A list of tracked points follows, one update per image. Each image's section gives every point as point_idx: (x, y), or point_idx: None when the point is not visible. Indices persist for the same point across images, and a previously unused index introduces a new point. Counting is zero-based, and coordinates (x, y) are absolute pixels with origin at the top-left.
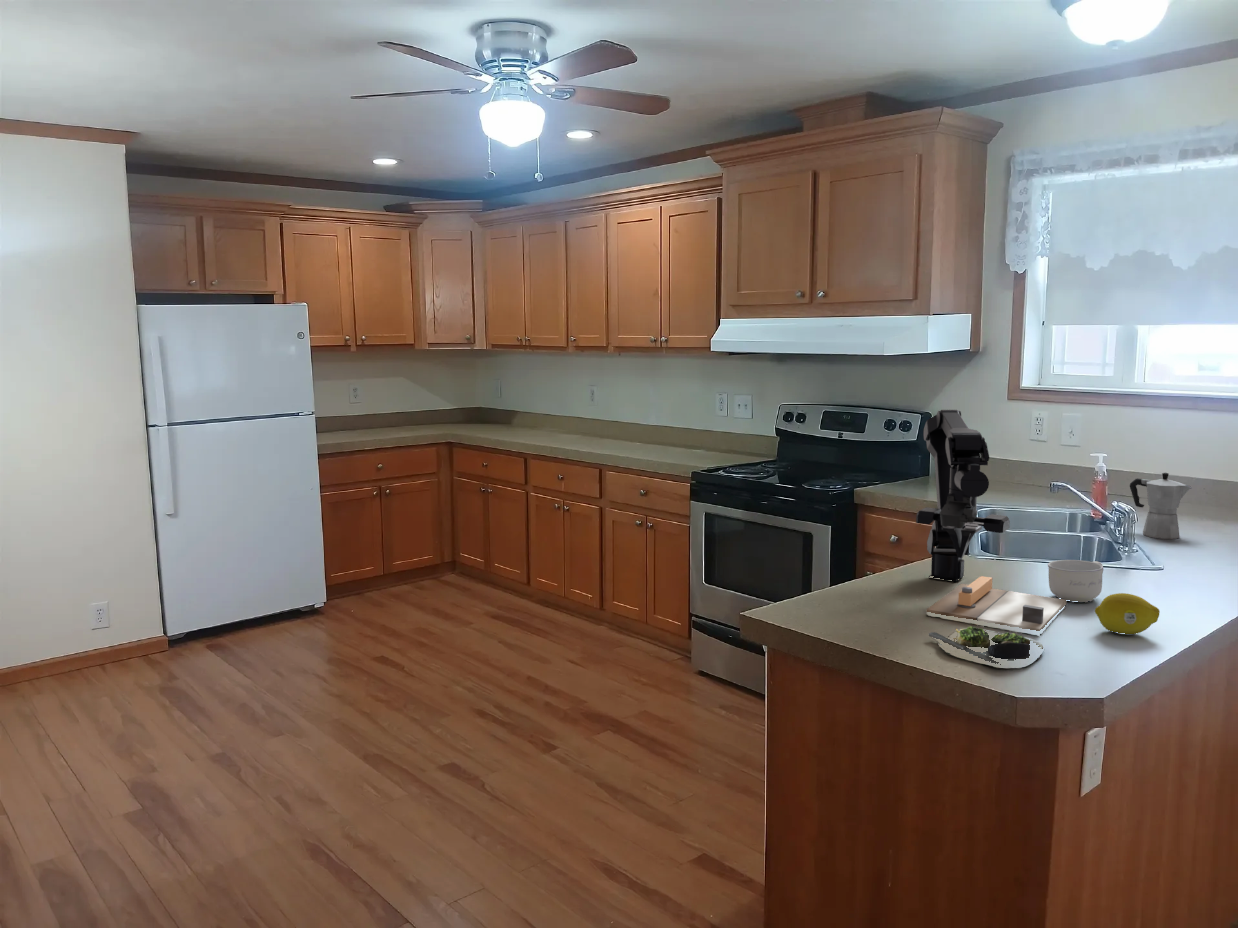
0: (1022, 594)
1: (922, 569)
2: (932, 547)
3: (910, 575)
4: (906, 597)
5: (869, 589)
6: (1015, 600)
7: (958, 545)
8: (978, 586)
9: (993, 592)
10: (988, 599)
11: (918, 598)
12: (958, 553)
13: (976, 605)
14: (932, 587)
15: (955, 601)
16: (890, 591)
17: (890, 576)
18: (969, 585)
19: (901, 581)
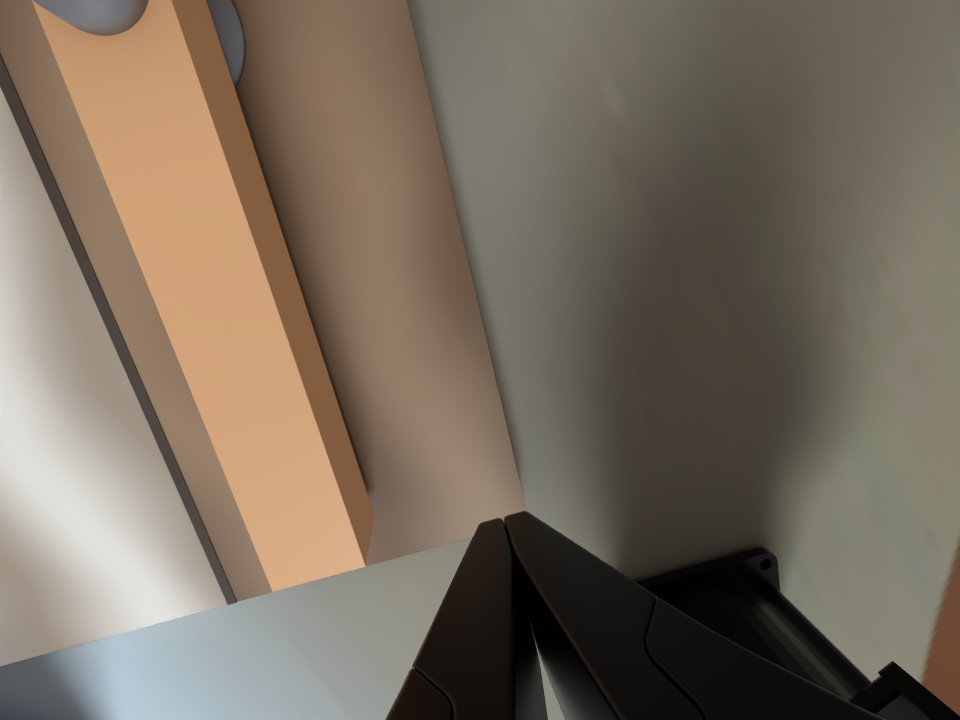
0: (119, 602)
1: (863, 662)
2: (943, 713)
3: (869, 527)
4: (686, 84)
5: (954, 66)
6: (44, 451)
7: (550, 606)
8: (164, 264)
9: None
10: None
11: (616, 127)
12: (526, 534)
13: None
14: (668, 418)
15: (302, 86)
16: (827, 134)
17: (951, 427)
18: (241, 233)
19: (862, 387)
